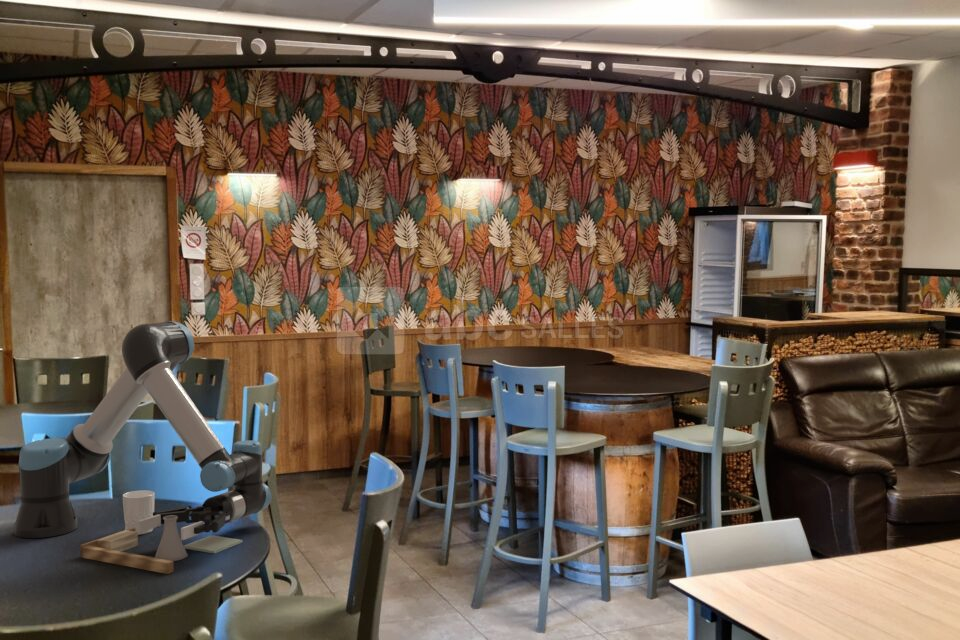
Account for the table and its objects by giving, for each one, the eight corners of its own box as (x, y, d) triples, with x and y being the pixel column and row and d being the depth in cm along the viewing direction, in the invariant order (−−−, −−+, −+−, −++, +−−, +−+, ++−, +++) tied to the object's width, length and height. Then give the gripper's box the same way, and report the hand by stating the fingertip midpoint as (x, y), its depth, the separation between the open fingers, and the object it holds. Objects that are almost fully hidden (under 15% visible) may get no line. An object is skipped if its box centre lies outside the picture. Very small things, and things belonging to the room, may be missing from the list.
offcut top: (98, 548, 221) (97, 539, 221) (125, 538, 229) (124, 530, 229) (110, 549, 219) (110, 541, 219) (137, 539, 228) (137, 531, 228)
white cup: (160, 527, 243) (159, 490, 243) (147, 536, 236) (146, 497, 235) (132, 526, 244) (131, 489, 244) (117, 535, 236) (116, 497, 236)
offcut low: (96, 555, 221) (96, 547, 221) (126, 545, 229) (125, 537, 229) (108, 558, 220) (108, 549, 220) (137, 547, 228) (137, 539, 228)
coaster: (183, 548, 225) (183, 545, 225) (211, 537, 234) (211, 535, 234) (214, 553, 221) (214, 551, 221) (242, 542, 230) (242, 540, 230)
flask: (167, 565, 213) (165, 522, 212) (148, 559, 217) (147, 517, 216) (193, 557, 218) (192, 515, 218) (175, 551, 223) (174, 511, 222)
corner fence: (80, 557, 218) (80, 544, 218) (132, 539, 233) (132, 527, 233) (168, 574, 206) (167, 560, 206) (217, 554, 220) (217, 541, 220)
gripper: (261, 529, 228) (201, 553, 209) (186, 517, 239) (122, 539, 220) (261, 499, 228) (200, 520, 209) (185, 489, 239) (121, 508, 220)
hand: (160, 530), depth 214 cm, fingers open, 13 cm apart
